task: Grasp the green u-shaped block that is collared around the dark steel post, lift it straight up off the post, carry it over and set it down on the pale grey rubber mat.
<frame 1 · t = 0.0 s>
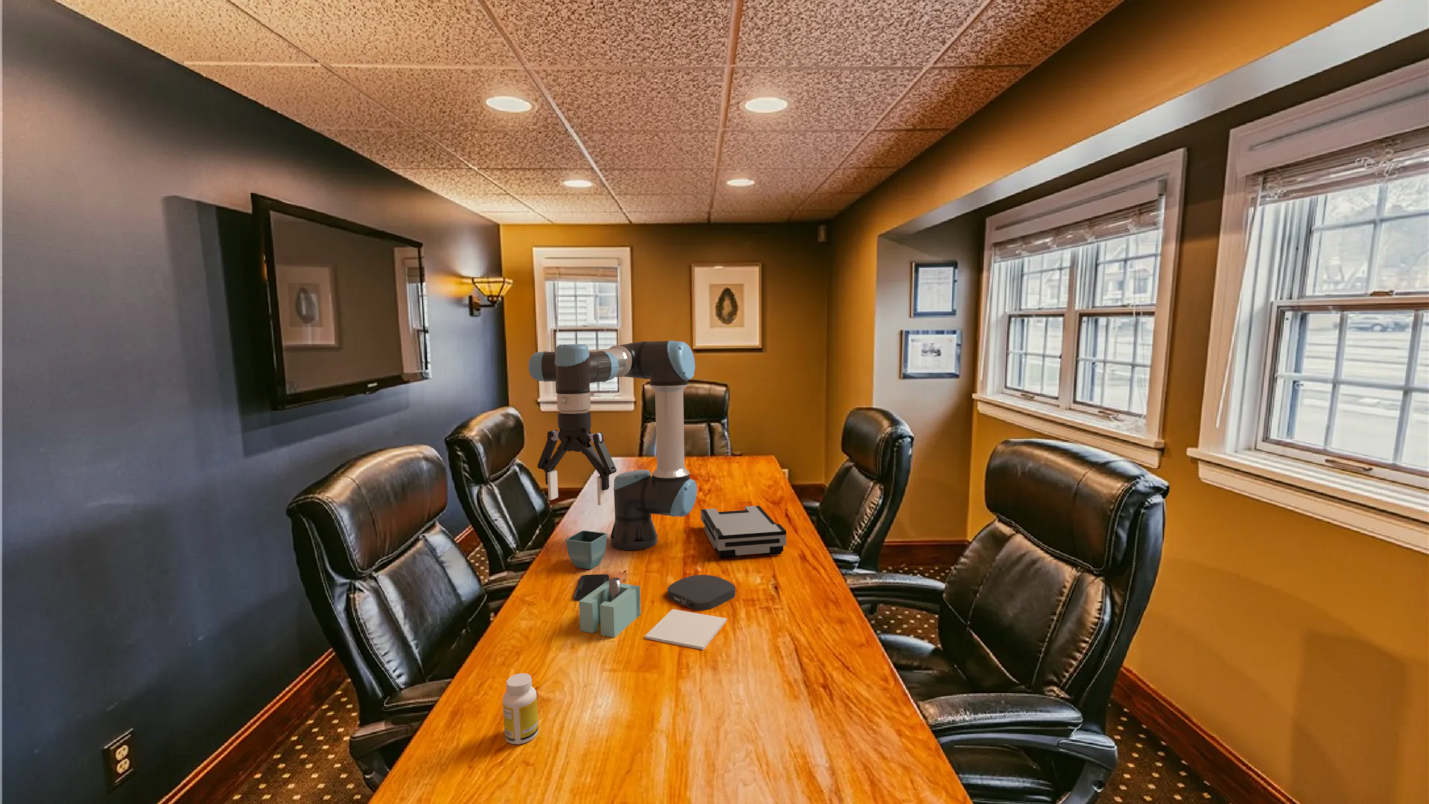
hand: (577, 501, 142), 28 cm above the table, tool pointing down, fingers open, 13 cm apart
mat: (686, 629, 137), on the table
phone: (592, 590, 160), on the table
flower pot: (587, 566, 176), on the table
green u-shaped block: (611, 622, 141), on the table
supplement bottle: (521, 735, 101), on the table
game console: (740, 542, 195), on the table
media streaming box: (701, 597, 155), on the table
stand: (615, 618, 143), on the table
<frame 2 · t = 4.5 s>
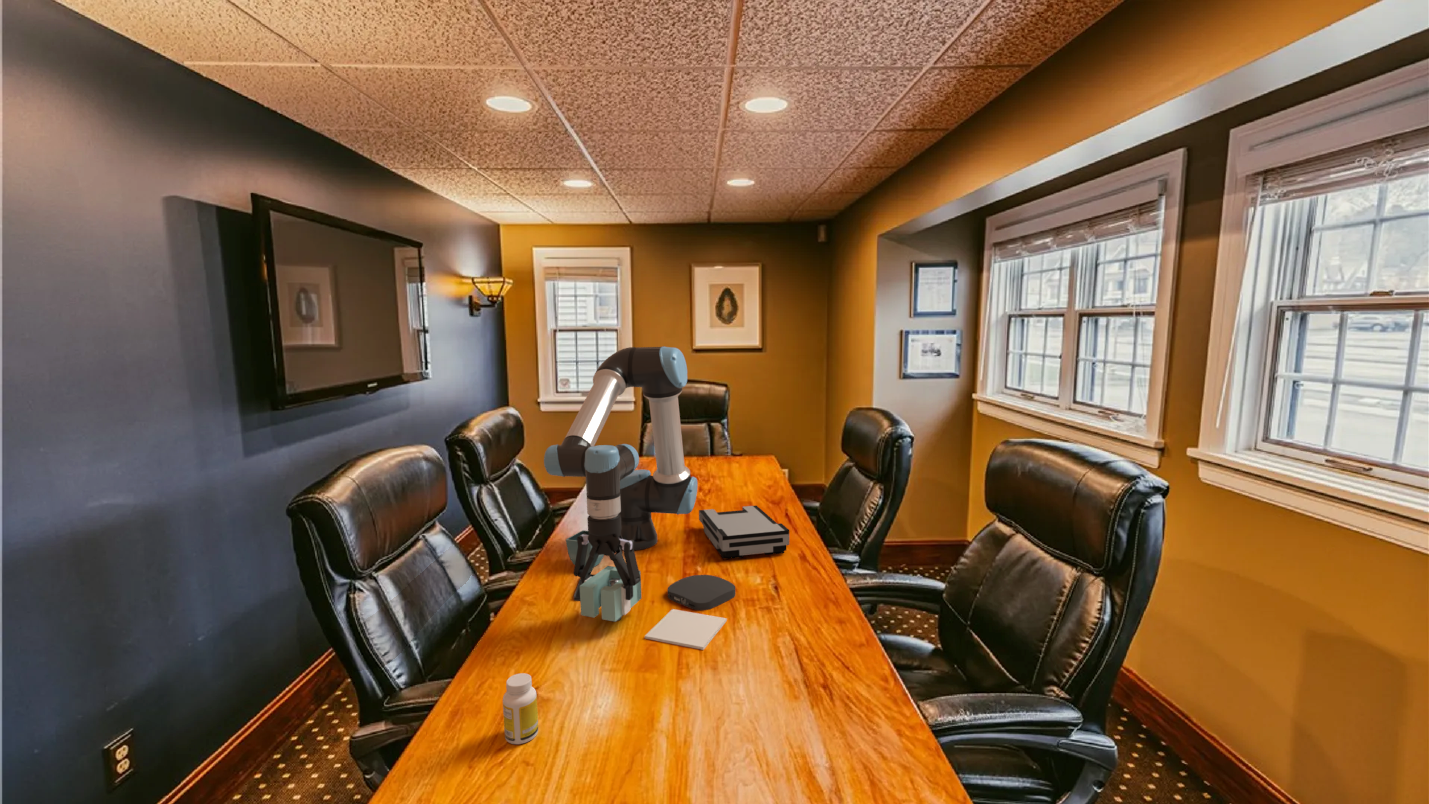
hand: (607, 608, 139), 4 cm above the table, tool pointing down, fingers closed on green u-shaped block, 9 cm apart
green u-shaped block: (612, 606, 141), point 4 cm above the table, touching gripper
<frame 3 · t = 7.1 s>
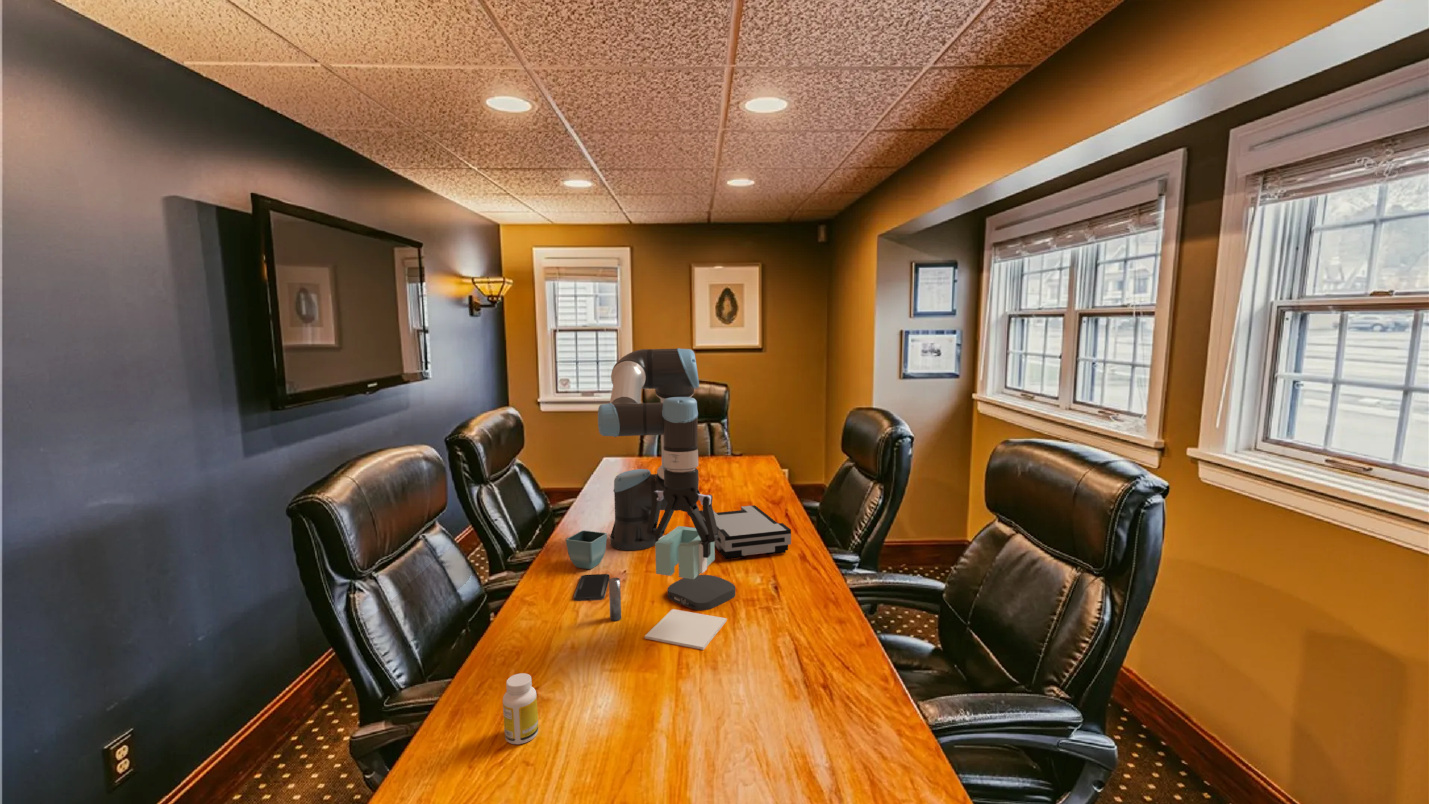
hand: (682, 568, 134), 15 cm above the table, tool pointing down, fingers closed on green u-shaped block, 9 cm apart
green u-shaped block: (686, 566, 136), point 15 cm above the table, touching gripper
when the fingers open (2 cm above the table, at t = 9.8 s): green u-shaped block drops 1 cm, resting on mat.
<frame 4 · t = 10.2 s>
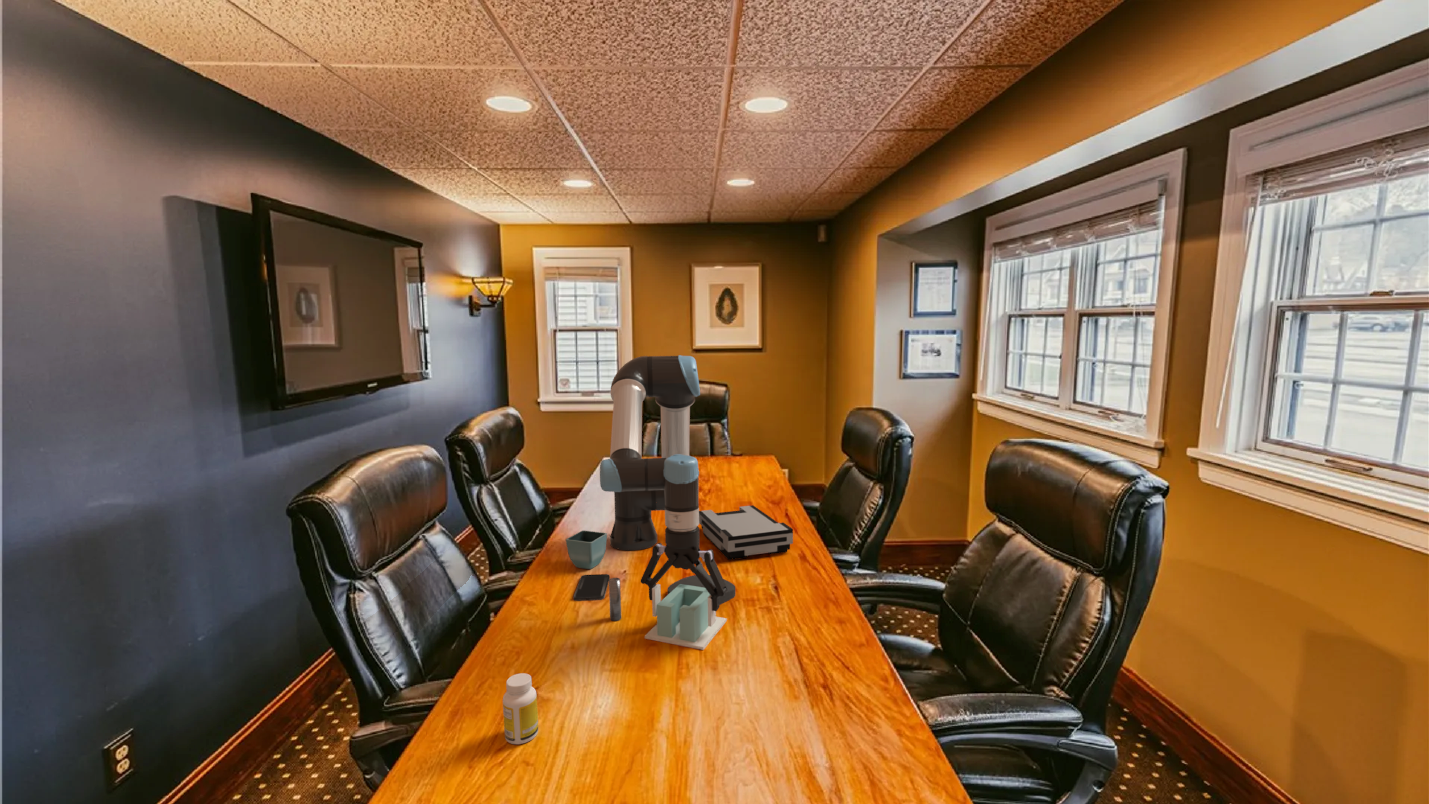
hand: (683, 618, 135), 3 cm above the table, tool pointing down, fingers open, 13 cm apart
green u-shaped block: (687, 626, 137), point 1 cm above the table, touching mat
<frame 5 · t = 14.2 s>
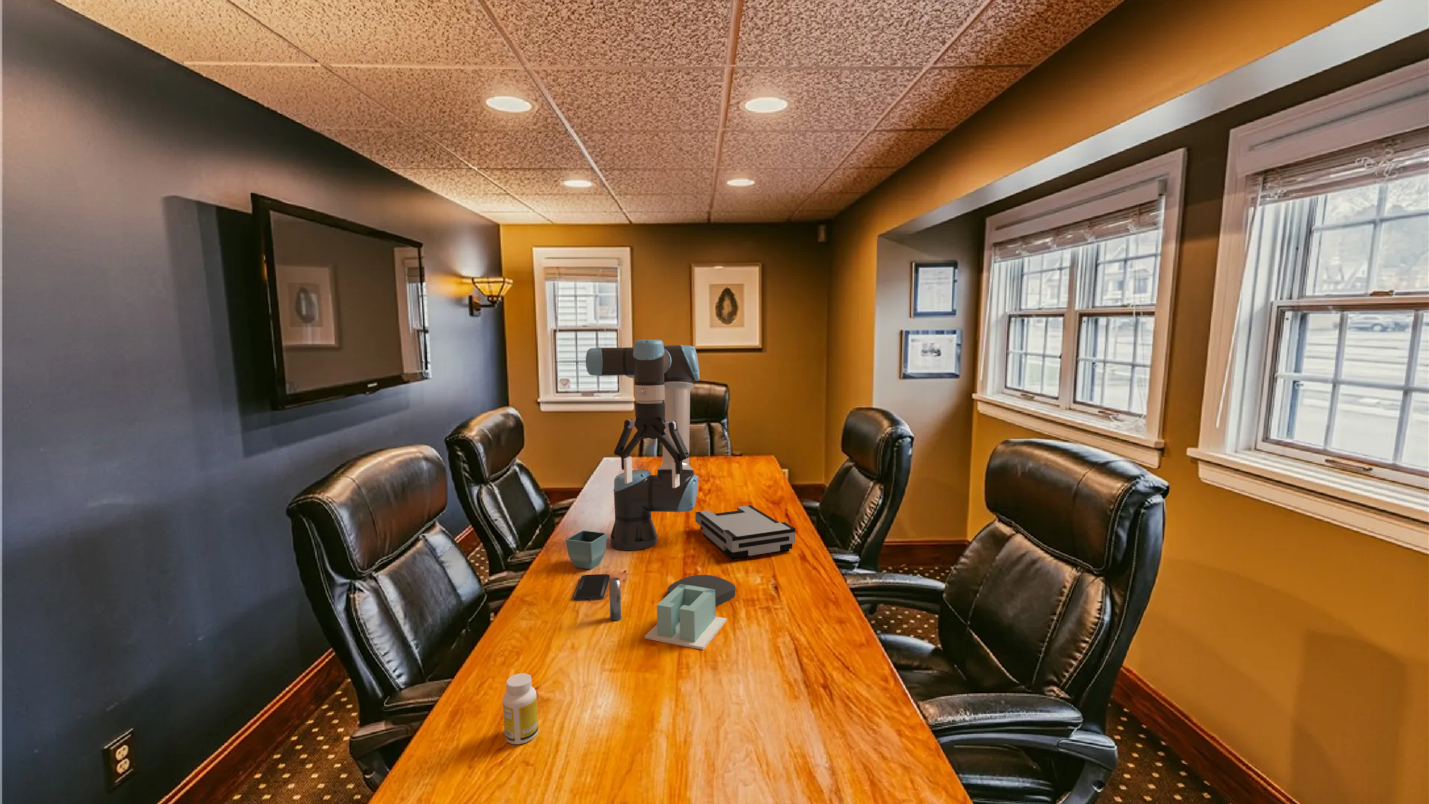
hand: (651, 484, 154), 29 cm above the table, tool pointing down, fingers open, 13 cm apart
at the end: green u-shaped block inside the target area on the mat (0.2 cm from its centre), point 0.6 cm above the mat's base; green u-shaped block touching mat; the gripper is holding nothing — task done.
